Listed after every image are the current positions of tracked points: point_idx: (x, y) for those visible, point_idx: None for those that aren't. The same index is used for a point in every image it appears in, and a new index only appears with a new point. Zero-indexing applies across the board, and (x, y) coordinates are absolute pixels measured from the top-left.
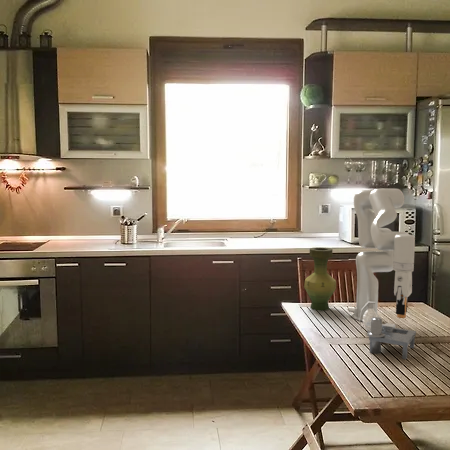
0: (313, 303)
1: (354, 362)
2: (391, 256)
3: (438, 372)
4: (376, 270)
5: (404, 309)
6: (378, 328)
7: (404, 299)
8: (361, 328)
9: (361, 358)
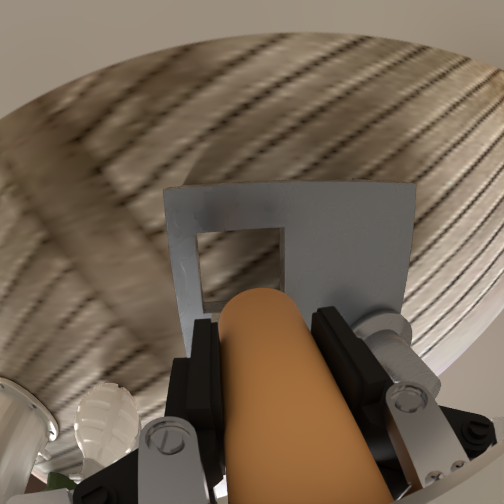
0: None
1: (443, 314)
2: None
3: (416, 62)
4: None
5: (357, 340)
6: (415, 353)
7: (424, 450)
8: (140, 417)
9: (414, 315)
